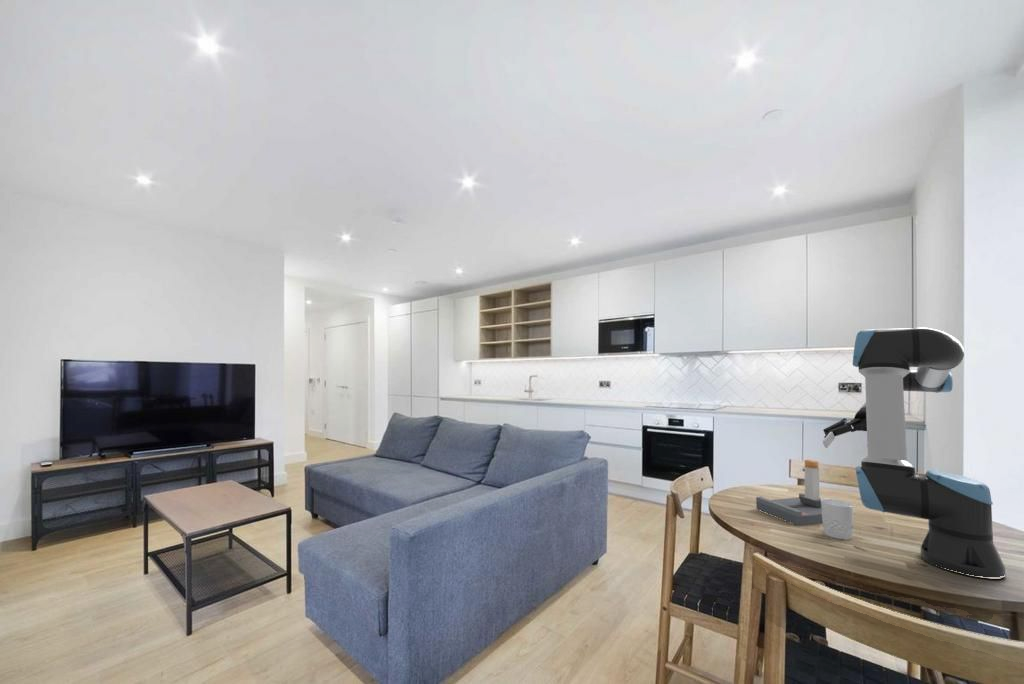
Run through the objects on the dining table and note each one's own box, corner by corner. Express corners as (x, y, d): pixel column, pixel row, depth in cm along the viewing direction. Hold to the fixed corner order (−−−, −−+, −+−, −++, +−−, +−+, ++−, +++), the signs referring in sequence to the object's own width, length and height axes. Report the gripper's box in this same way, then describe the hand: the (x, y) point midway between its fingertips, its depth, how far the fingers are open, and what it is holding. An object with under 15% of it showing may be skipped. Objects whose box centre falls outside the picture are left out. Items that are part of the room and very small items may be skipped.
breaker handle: (825, 506, 146) (824, 462, 147) (816, 507, 145) (815, 463, 145) (808, 501, 151) (807, 459, 152) (800, 501, 150) (799, 459, 151)
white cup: (859, 538, 126) (858, 505, 127) (843, 542, 123) (842, 507, 124) (831, 529, 133) (831, 497, 134) (815, 532, 131) (814, 499, 131)
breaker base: (847, 520, 142) (847, 506, 142) (797, 525, 136) (797, 511, 136) (803, 505, 157) (803, 493, 157) (756, 509, 151) (756, 496, 151)
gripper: (917, 426, 145) (894, 460, 136) (836, 422, 167) (811, 451, 158) (910, 407, 144) (886, 441, 135) (829, 405, 166) (804, 434, 157)
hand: (846, 446), depth 146 cm, fingers open, 13 cm apart
